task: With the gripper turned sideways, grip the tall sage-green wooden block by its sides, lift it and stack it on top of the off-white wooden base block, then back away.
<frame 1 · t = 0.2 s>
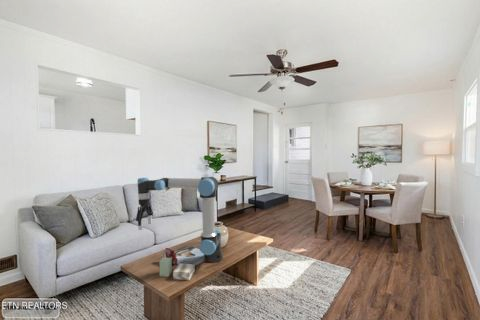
hand: (145, 226, 174), 28 cm above the table, tool pointing down, fingers open, 13 cm apart
off-white base block: (184, 275, 158), on the table
red grape bunch: (170, 263, 175), on the table
sage green block: (165, 274, 160), on the table
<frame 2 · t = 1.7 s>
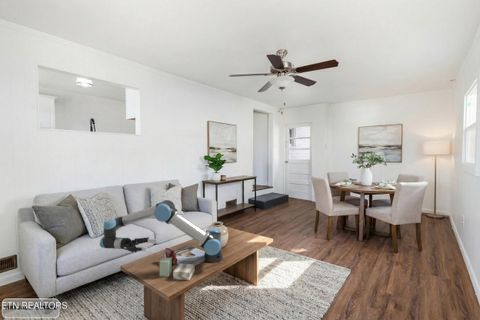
hand: (151, 245, 160), 20 cm above the table, tool horizontal, fingers open, 13 cm apart
nothing on the table moved.
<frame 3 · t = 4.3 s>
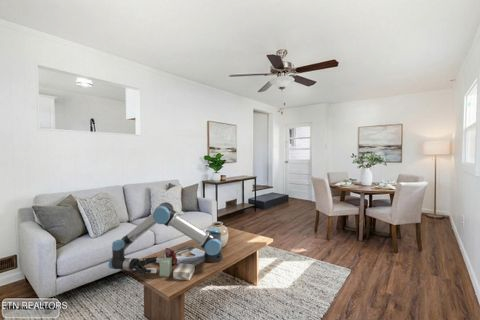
hand: (160, 265, 160), 6 cm above the table, tool horizontal, fingers open, 13 cm apart
nothing on the table moved.
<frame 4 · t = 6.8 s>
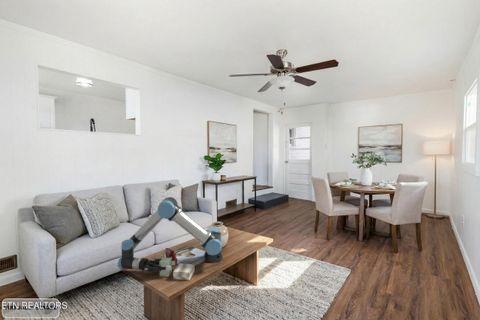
hand: (172, 265, 159), 6 cm above the table, tool horizontal, fingers closed on sage green block, 6 cm apart
sage green block: (165, 273, 160), on the table, touching gripper
everything else where it was.
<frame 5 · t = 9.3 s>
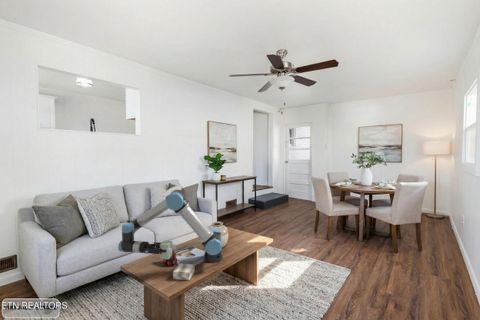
hand: (173, 248, 158), 18 cm above the table, tool horizontal, fingers closed on sage green block, 6 cm apart
sage green block: (166, 257, 159), point 12 cm above the table, touching gripper
everything else where it was.
when the fingers open (12 cm above the table, at t = 11.9 s): sage green block drops 1 cm, resting on off-white base block.
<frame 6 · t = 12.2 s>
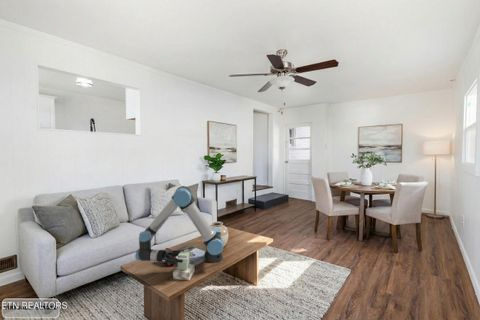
hand: (190, 257, 157), 12 cm above the table, tool horizontal, fingers open, 9 cm apart
sage green block: (184, 267, 158), point 5 cm above the table, touching off-white base block
everything else where it was.
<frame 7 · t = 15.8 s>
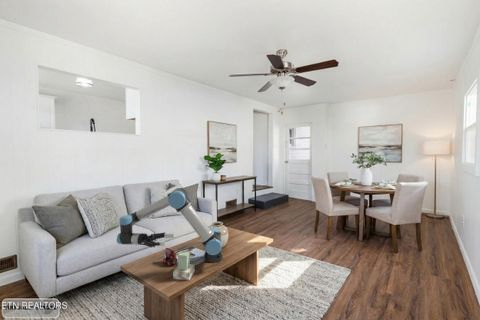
hand: (169, 239, 158), 24 cm above the table, tool horizontal, fingers open, 13 cm apart
nothing on the table moved.
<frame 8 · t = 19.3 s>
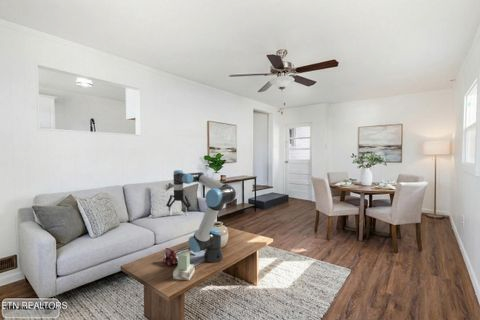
hand: (178, 215, 191), 32 cm above the table, tool pointing down, fingers open, 13 cm apart
nothing on the table moved.
at the end: sage green block inside the target area on the off-white base block (0.1 cm from its centre), point 5.0 cm above the off-white base block's base; sage green block tilted 0°; the gripper is holding nothing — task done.
